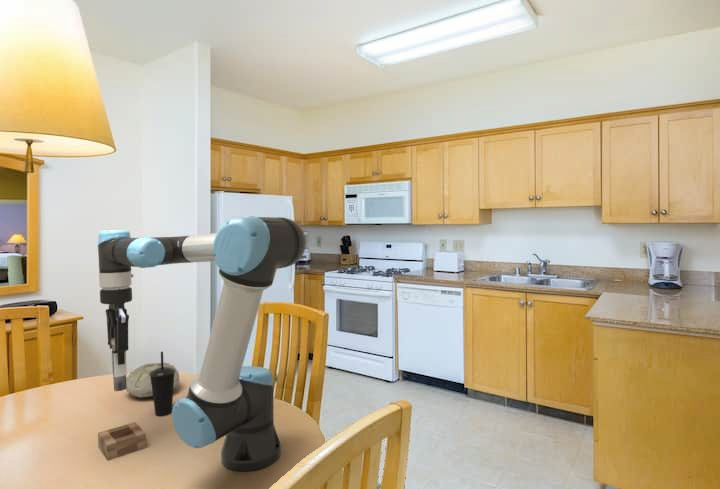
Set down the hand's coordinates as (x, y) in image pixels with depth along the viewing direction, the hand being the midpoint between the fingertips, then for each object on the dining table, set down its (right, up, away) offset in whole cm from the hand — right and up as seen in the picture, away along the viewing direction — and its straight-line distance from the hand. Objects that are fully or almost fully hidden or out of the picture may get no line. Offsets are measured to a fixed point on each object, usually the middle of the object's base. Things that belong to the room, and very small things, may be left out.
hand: (118, 373), depth 118 cm
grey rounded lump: (-9, -19, +40) cm, 45 cm away
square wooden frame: (0, -20, +1) cm, 20 cm away
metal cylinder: (0, -4, 0) cm, 4 cm away
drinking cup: (+2, -20, +23) cm, 30 cm away
